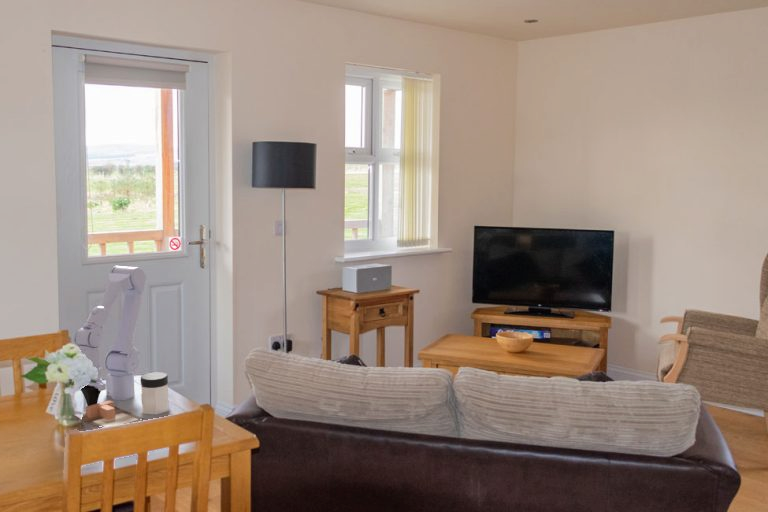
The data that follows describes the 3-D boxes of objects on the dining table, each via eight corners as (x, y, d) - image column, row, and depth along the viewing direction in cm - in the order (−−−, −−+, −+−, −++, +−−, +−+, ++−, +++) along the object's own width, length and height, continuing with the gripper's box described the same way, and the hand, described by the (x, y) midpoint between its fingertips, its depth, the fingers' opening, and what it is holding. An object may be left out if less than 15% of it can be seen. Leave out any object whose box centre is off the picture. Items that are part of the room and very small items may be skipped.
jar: (142, 409, 253) (140, 372, 251) (168, 406, 255) (167, 370, 253) (142, 418, 244) (140, 381, 243) (169, 416, 247) (168, 378, 245)
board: (71, 418, 245) (71, 414, 245) (110, 407, 255) (110, 404, 254) (105, 434, 232) (105, 430, 232) (144, 422, 242) (144, 418, 241)
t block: (86, 416, 244) (85, 406, 243) (110, 409, 250) (109, 400, 249) (99, 422, 239) (98, 412, 238) (123, 415, 245) (123, 405, 244)
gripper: (66, 364, 249) (68, 405, 251) (89, 373, 239) (92, 416, 241) (87, 359, 254) (89, 400, 256) (111, 368, 244) (113, 410, 246)
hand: (92, 407), depth 249 cm, fingers closed
